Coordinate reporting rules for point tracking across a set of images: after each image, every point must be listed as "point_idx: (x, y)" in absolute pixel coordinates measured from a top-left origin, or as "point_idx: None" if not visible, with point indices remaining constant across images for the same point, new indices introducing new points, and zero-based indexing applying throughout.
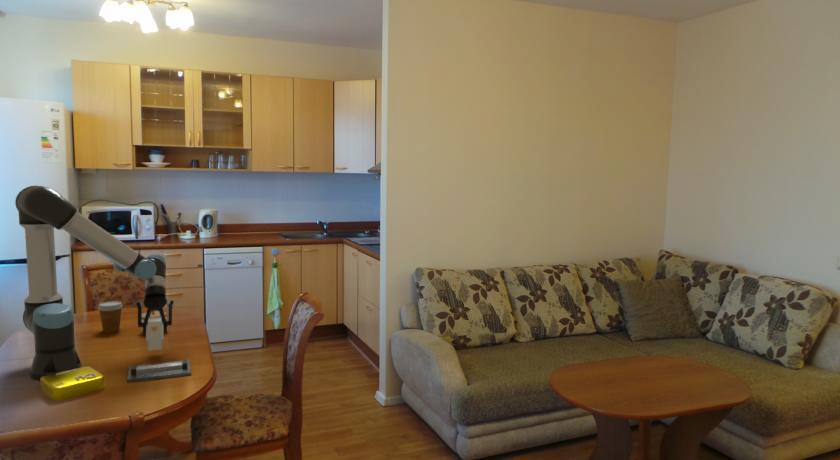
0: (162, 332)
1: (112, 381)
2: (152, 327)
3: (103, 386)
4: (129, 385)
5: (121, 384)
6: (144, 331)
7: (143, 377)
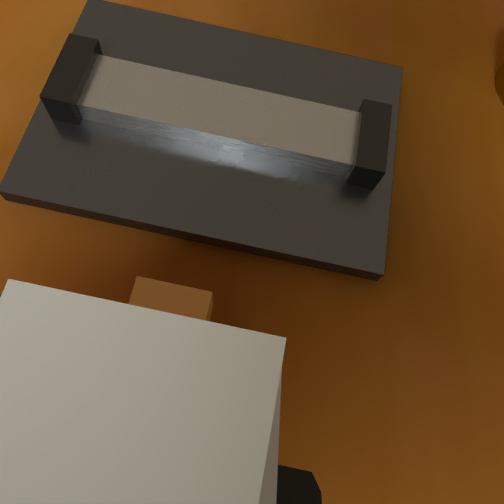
0: None
1: (463, 129)
2: (208, 292)
3: (500, 68)
4: (385, 42)
5: (420, 71)
6: (296, 499)
7: (323, 52)
